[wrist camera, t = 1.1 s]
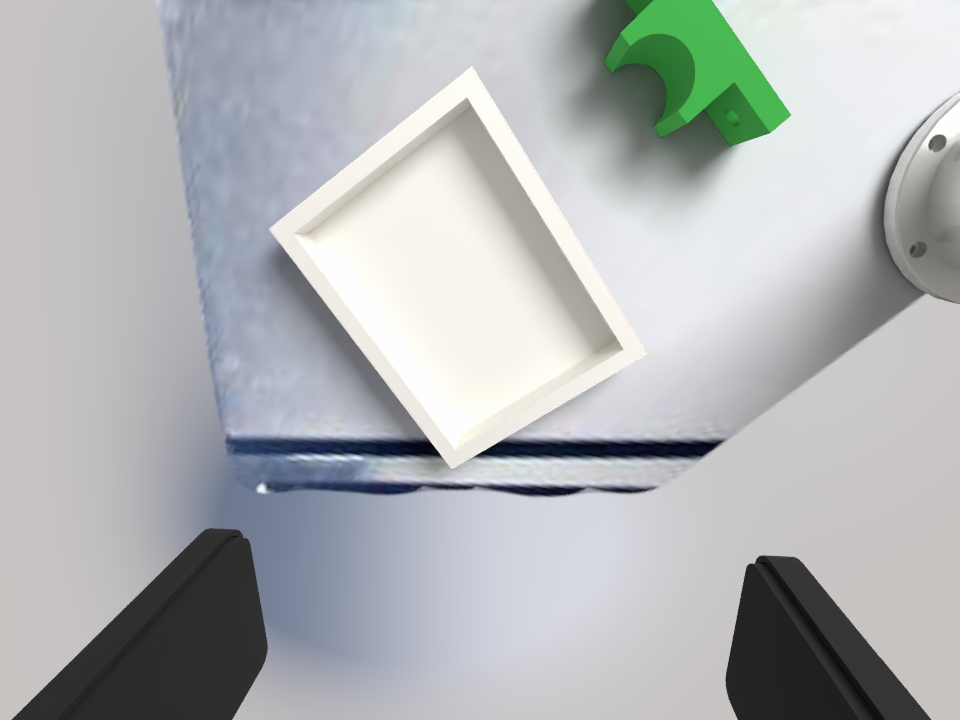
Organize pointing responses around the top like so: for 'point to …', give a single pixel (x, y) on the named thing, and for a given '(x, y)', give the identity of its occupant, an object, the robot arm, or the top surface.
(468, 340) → the tray
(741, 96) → the pipe clamp
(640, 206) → the top surface
